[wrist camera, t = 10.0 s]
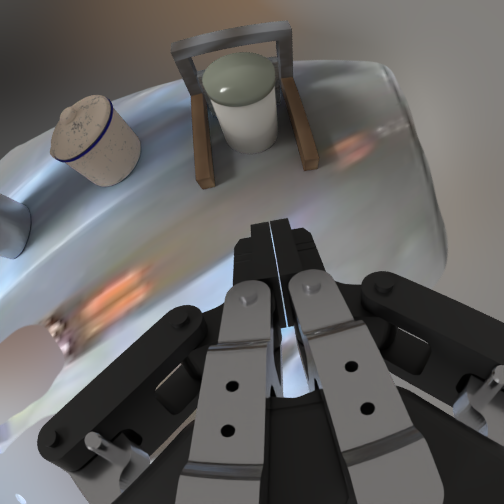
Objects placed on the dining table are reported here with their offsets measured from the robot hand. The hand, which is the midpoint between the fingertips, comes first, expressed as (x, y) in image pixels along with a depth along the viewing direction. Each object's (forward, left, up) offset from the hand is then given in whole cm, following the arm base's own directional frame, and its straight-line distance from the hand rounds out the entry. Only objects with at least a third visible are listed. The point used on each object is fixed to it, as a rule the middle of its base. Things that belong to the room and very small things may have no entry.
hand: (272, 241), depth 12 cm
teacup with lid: (-20, +19, -18) cm, 33 cm away
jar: (0, +18, -17) cm, 25 cm away
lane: (0, +18, -17) cm, 25 cm away
